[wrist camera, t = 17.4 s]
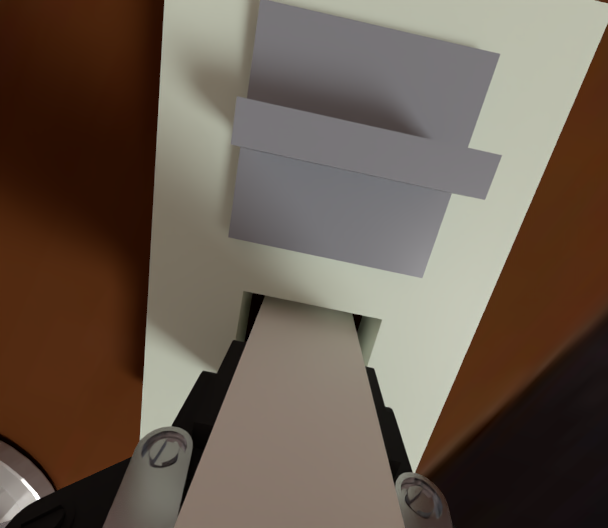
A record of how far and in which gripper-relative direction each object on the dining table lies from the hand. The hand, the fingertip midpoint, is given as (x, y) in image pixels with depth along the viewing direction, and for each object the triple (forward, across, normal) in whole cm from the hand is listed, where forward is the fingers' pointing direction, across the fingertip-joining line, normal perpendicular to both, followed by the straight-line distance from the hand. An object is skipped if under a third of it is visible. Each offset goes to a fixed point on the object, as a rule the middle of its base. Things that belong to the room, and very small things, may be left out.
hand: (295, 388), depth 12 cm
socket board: (+4, 0, -4) cm, 6 cm away
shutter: (+1, 0, -8) cm, 9 cm away
